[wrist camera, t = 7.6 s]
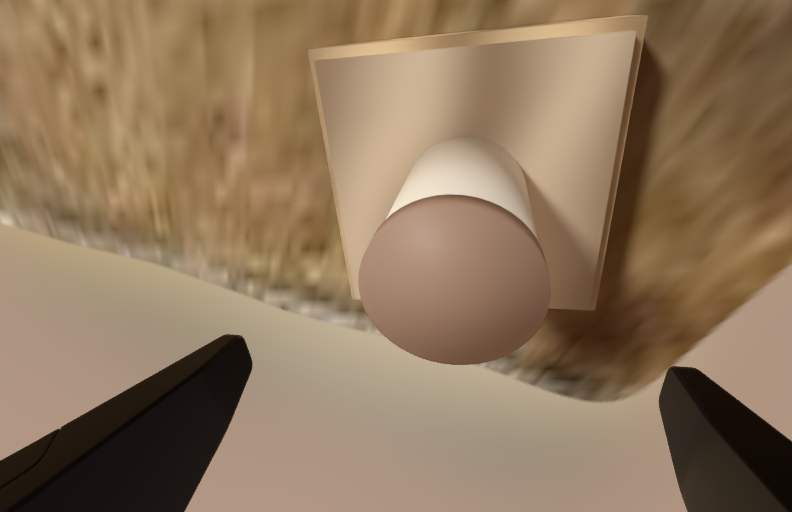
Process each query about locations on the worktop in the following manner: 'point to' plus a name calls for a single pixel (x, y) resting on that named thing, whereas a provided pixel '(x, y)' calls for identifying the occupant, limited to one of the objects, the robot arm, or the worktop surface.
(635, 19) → the block
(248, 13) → the worktop surface
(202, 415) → the robot arm
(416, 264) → the spice tin
